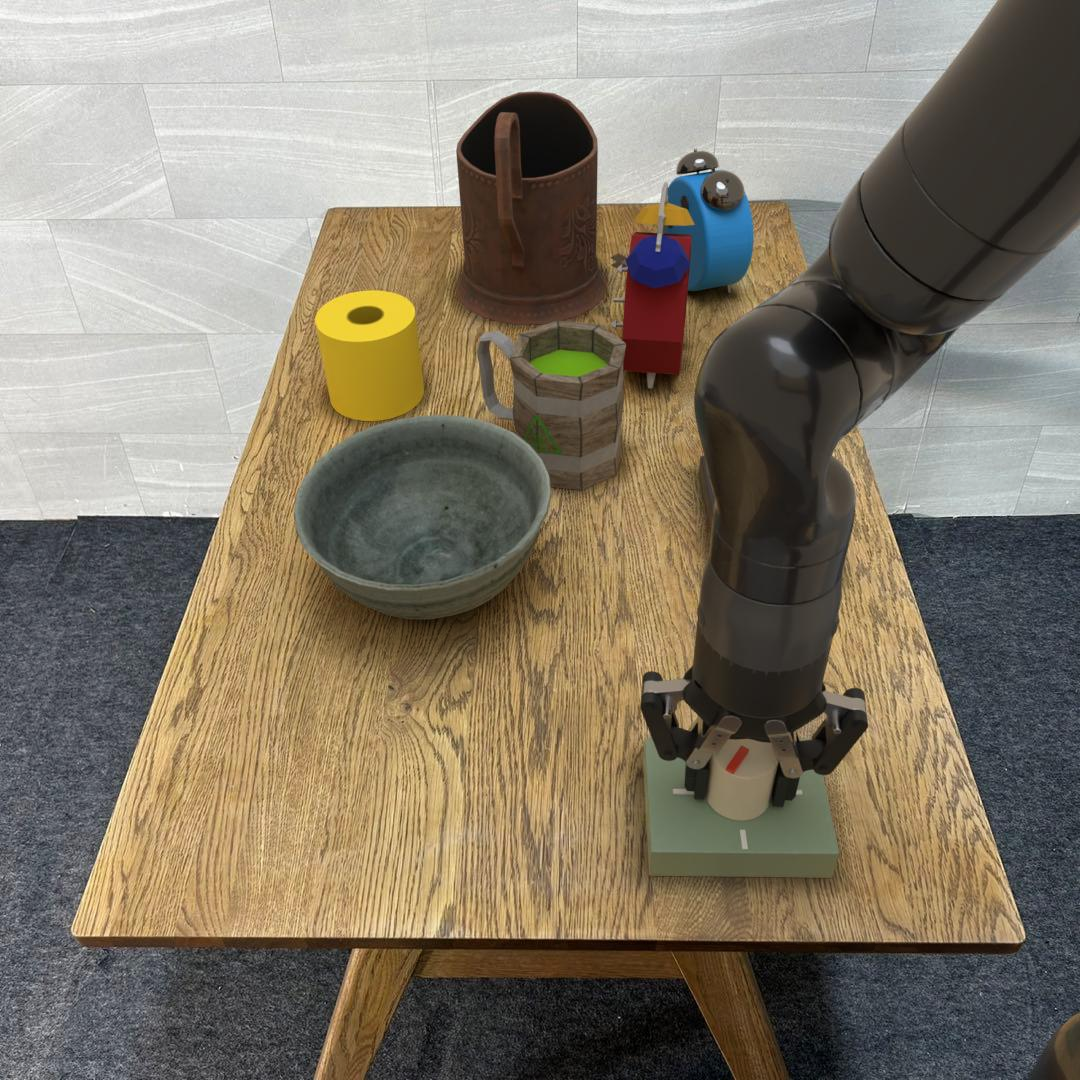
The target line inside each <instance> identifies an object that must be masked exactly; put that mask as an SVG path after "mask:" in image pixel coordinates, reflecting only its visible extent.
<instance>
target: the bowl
mask: <svg viewBox="0 0 1080 1080" xmlns="http://www.w3.org/2000/svg"><path fill="white" fill-rule="evenodd" d="M551 499H552V487H551V485H550V477H549V474H548V472H547V470H546V468H545V465H544V463H543V461H542V459H541V458H540V457H539V456H538V454H537V453H536V452H535V451H534V450H533V449H532V447H531V446H530V445H529V444H527V443H526V442H525V441H524V440H522V439H521V438H520V437H518V436H517V435H516V433H515V432H513V431H510V430H508V429H506V428H504V427H502V426H500V425H498V424H496V423H493V422H489V421H485V420H481V419H478V418H474V417H469V416H461V415H454V414H453V415H452V414H432V415H428V414H427V415H419V416H411V417H405V418H399V419H398V418H397V419H395V420H391V421H388V422H383V423H379V424H375V425H373V426H370V427H368V428H365V429H363V430H361V431H358V432H356V433H353V434H351V435H350V436H348V437H347V438H345V439H344V440H342V441H340V442H339V443H337V444H336V445H334V446H333V447H331V449H329V450H328V451H327V452H326V453H325V454H323V455H322V456H321V457H320V458H319V459H318V460H316V462H315V463H314V464H313V466H312V467H311V468H310V469H309V471H308V472H307V473H306V475H305V476H304V477H303V479H302V481H301V483H300V486H299V488H298V490H297V493H296V495H295V500H294V508H293V509H294V510H293V521H294V527H295V528H294V529H295V533H296V536H297V537H298V540H299V542H300V544H301V546H302V549H303V550H304V551H305V552H306V553H307V554H308V555H309V556H310V557H311V558H312V559H313V560H314V562H315V563H316V564H317V565H318V567H319V568H320V569H321V571H322V572H323V573H324V575H326V576H327V578H328V579H329V580H330V581H331V582H332V583H333V584H334V585H335V586H336V587H337V589H338V590H339V591H340V592H341V593H342V594H344V595H346V596H347V597H349V598H351V599H352V600H354V601H355V602H356V603H358V604H360V605H362V606H364V607H367V608H369V609H372V610H374V611H377V612H379V613H382V614H384V615H387V616H390V617H395V618H401V619H405V620H435V619H440V618H447V617H452V616H455V615H458V614H461V613H465V612H468V611H471V610H473V609H475V608H477V607H479V606H481V605H484V604H486V603H487V602H489V601H491V600H492V599H494V597H496V596H498V594H500V593H501V592H502V591H503V590H504V589H506V588H507V587H508V586H509V585H510V584H511V582H513V580H514V579H515V577H517V575H518V574H519V573H520V572H521V571H522V569H523V568H524V567H525V565H526V563H527V561H528V560H529V558H530V557H531V554H532V552H533V550H534V548H535V546H536V544H537V542H538V540H539V537H540V535H541V530H542V526H543V524H544V522H545V520H546V518H547V516H548V514H549V510H550V504H551Z"/></svg>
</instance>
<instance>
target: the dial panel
mask: <svg viewBox="0 0 1080 1080" xmlns="http://www.w3.org/2000/svg"><path fill="white" fill-rule="evenodd" d="M800 740H801V741H805V740H812V738H811V739H810V738H809V739H808V738H807V739H806V738H803V739H802V738H800ZM685 765H686V762H685V761H684V760H683V759H681V758H678V757H677V758H676V759H675V760H672V761H666V760H663V759H661V758H660V757H659V755H658V752H657V750H656V747H655V745H654V742H653V740H652V737H645V738H644V740H643V754H642V775H643V792H644V793H643V794H644V795H643V796H644V810H645V811H644V812H645V828H646V845H647V847H646V848H647V863H648V866H647V867H648V875H649V877H713V878H714V877H715V878H716V877H719V878H720V877H721V878H722V877H723V878H727V877H729V878H804V879H805V878H806V879H807V878H809V879H810V878H812V879H815V878H816V879H832V878H833V875H834V872H835V869H836V867H837V862H838V860H839V857H840V849H839V844H838V839H837V834H836V831H835V825H834V821H833V816H832V810H831V806H830V800H829V797H828V792H827V787H826V781H825V775H819V774H817V773H815V772H814V770H807V771H805V772H803V774H802V776H800V779H799V784H798V788H797V792H796V797H795V798H794V799H793V800H792V801H788V800H785V802H784V807H773V806H772V795H771V800H770V803H769V806H768V808H767V809H766V811H765V812H764V813H763V814H761V815H760V816H758V817H756V818H754V819H751V820H746V821H737V820H732V819H728V818H726V817H724V816H722V815H720V814H718V813H717V812H716V811H715V810H714V809H713V808H712V807H711V806H710V805H709V803H708V801H707V799H706V796H705V800H700V799H694V792H693V791H687V790H686V788H685V786H684V784H685Z"/></svg>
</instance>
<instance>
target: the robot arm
mask: <svg viewBox="0 0 1080 1080" xmlns="http://www.w3.org/2000/svg"><path fill="white" fill-rule="evenodd" d="M934 83H935V84H933V86H932V87H931V88H930V89H929V91H928V92H927V93H926V94H925V95H924V96H923V98H922V99H921V100H920V102H919V103H918V104H917V105H916V106H915V108H914V109H913V110H912V111H911V113H909V115H908V117H907V118H905V120H904V121H903V123H902V124H901V125H900V126H899V128H898V129H897V131H895V133H894V134H893V135H892V136H891V138H890V139H889V140H888V141H887V143H886V144H885V146H884V147H882V149H881V150H880V151H879V153H878V154H877V155H876V156H875V158H874V159H873V160H872V162H871V163H870V164H869V166H868V167H866V169H865V170H864V171H863V172H862V173H861V175H860V176H859V177H858V179H857V180H856V181H855V183H854V184H853V186H852V187H851V188H850V190H849V192H848V193H847V195H846V196H845V197H844V199H843V200H842V202H841V204H840V206H839V208H838V209H837V211H836V213H835V215H834V218H833V220H832V223H831V226H830V230H829V237H828V245H827V247H826V248H825V249H824V251H822V252H821V254H820V255H819V256H818V257H817V258H816V259H815V260H814V261H813V262H812V263H811V264H810V265H809V266H808V267H807V268H806V269H805V270H804V271H803V272H802V273H801V274H799V276H798V277H796V279H794V280H793V281H792V282H791V283H789V285H787V286H785V287H783V288H782V289H781V290H780V291H778V292H777V293H775V294H774V295H772V296H770V297H769V298H768V299H766V300H765V301H763V302H762V303H760V304H758V305H757V306H756V307H754V308H753V309H751V310H750V311H749V312H747V313H745V314H744V315H742V316H740V317H739V318H738V319H736V320H735V321H733V322H732V323H731V324H729V325H728V326H726V327H725V328H724V329H723V330H722V331H721V332H720V333H719V334H718V335H717V336H716V337H715V339H714V340H713V342H712V343H711V344H710V346H709V347H708V349H707V351H706V353H705V355H704V357H703V359H702V362H701V365H700V368H699V371H698V374H697V378H696V383H695V387H694V396H693V407H694V408H693V410H694V417H695V423H696V427H697V432H698V437H699V441H700V445H701V449H702V454H703V456H704V458H705V462H706V467H707V472H708V476H709V480H710V483H711V486H712V490H713V494H714V497H715V503H714V509H713V519H712V529H711V533H710V539H709V548H708V553H707V559H706V562H705V565H704V568H703V572H702V577H701V581H700V588H699V589H700V590H699V599H698V605H697V608H696V613H697V615H696V616H697V620H696V621H697V622H696V629H695V639H694V640H695V641H694V650H693V651H694V653H693V661H692V665H691V667H690V668H689V669H687V671H686V672H685V673H684V675H683V677H682V678H678V679H667V680H664V679H663V676H662V675H661V673H659V672H657V671H651V670H650V671H647V672H645V673H644V674H643V675H642V682H641V692H640V704H639V705H640V706H639V709H640V712H641V714H642V717H643V719H644V722H645V724H646V726H647V729H648V732H649V735H650V738H652V740H653V742H654V745H655V747H656V750H657V752H658V755H659V757H660V758H661V759H663V760H666V761H672V760H675V759H676V758H677V757H678V758H681V759H683V760H684V761H685V762H686V765H685V784H684V786H685V788H686V790H687V791H693V792H694V799H700V800H705V792H706V784H707V776H708V762H709V759H710V758H711V757H712V755H713V754H715V755H717V754H718V753H719V752H720V750H721V749H722V748H723V746H724V745H725V743H726V742H727V741H728V739H733V740H738V739H751V740H755V741H759V742H766V743H771V745H772V748H773V751H774V754H775V756H776V759H777V761H779V764H778V768H777V773H776V777H775V782H774V786H773V791H772V806H773V807H784V802H785V800H788V801H792V800H793V799H794V798H795V797H796V792H797V788H798V784H799V779H800V776H802V774H803V772H805V771H807V770H814V772H815V773H817V774H819V775H823V776H828V775H830V774H832V773H833V772H834V771H835V769H836V768H837V767H838V766H839V765H840V763H841V762H842V761H843V759H844V758H845V757H846V755H848V753H849V752H850V751H851V750H852V748H853V747H854V746H855V745H856V743H857V742H858V741H859V739H860V738H862V736H863V735H864V733H865V732H866V731H867V729H868V728H869V720H868V710H867V702H866V693H865V691H864V690H863V689H861V688H858V687H851V688H848V689H846V690H845V691H844V692H843V693H842V694H840V693H836V692H832V691H829V690H827V688H826V685H825V683H824V679H825V675H826V670H827V667H828V661H829V658H830V657H829V656H830V654H831V649H832V644H833V641H834V640H833V639H834V636H835V634H837V631H838V629H839V628H838V627H839V623H840V615H839V614H840V608H841V602H842V593H843V575H844V569H845V565H846V561H847V556H848V551H849V547H850V542H851V539H852V534H853V530H854V529H853V528H854V525H855V517H856V516H855V515H856V506H857V495H856V489H855V488H856V487H855V484H854V481H853V479H852V476H851V473H850V472H849V471H848V470H847V468H846V467H845V466H844V464H843V463H842V462H841V461H840V460H839V459H838V458H837V457H835V456H834V455H833V454H834V452H835V450H836V448H837V446H838V444H839V442H841V441H842V440H843V439H844V438H845V437H846V436H847V435H849V434H850V433H851V432H852V431H853V430H854V429H855V428H857V427H858V426H859V425H860V424H861V423H863V422H864V421H865V420H866V419H868V418H869V417H870V416H871V415H872V414H873V413H874V412H876V411H877V410H878V409H879V408H880V407H882V405H884V404H885V403H887V401H888V400H889V399H891V398H892V397H893V396H894V395H895V394H896V393H897V392H899V390H900V389H902V388H903V387H904V385H906V383H908V382H909V381H910V380H911V379H912V378H913V377H914V376H915V375H916V374H917V373H918V372H919V371H920V370H921V369H922V368H923V367H924V366H925V365H926V364H928V362H929V361H930V360H931V359H932V358H933V357H934V356H935V355H936V354H937V353H938V352H939V351H940V350H941V349H942V347H943V346H944V345H945V344H946V343H947V342H948V341H949V340H950V339H951V337H952V336H953V335H954V334H955V333H956V332H957V331H958V330H959V329H960V328H961V327H962V326H963V325H966V324H967V323H968V322H970V321H972V320H973V319H974V318H975V317H977V316H978V315H980V314H982V313H983V312H984V311H985V310H987V309H988V308H989V307H990V306H992V305H993V304H994V303H995V302H997V301H998V300H999V299H1000V298H1001V297H1002V296H1004V295H1005V294H1006V293H1007V292H1008V291H1009V290H1010V289H1011V288H1013V287H1014V286H1015V285H1016V284H1017V283H1018V282H1019V281H1020V280H1021V279H1023V278H1024V277H1025V276H1026V275H1027V274H1028V273H1030V271H1032V270H1033V269H1034V268H1035V267H1036V266H1037V265H1038V264H1039V263H1040V262H1042V260H1044V259H1045V258H1047V256H1048V255H1050V253H1052V252H1053V250H1055V249H1056V248H1057V247H1058V246H1059V245H1060V244H1061V243H1063V242H1064V241H1065V240H1066V239H1067V238H1068V237H1069V236H1071V234H1072V233H1074V232H1075V231H1076V230H1077V229H1078V228H1080V0H996V2H995V3H994V5H992V7H991V9H990V10H989V12H988V13H987V14H986V16H985V17H984V18H983V20H982V21H981V23H980V24H979V26H978V27H977V28H976V30H975V31H974V33H973V34H972V36H971V37H970V38H969V39H968V40H967V42H966V43H965V44H964V46H963V47H962V48H961V50H960V51H959V52H958V54H956V56H955V58H954V59H953V60H952V61H951V63H950V64H949V65H948V67H947V68H946V69H945V71H944V72H943V73H942V74H941V76H940V77H939V78H938V80H937V81H936V82H934ZM682 701H684V703H685V704H686V705H687V706H688V708H690V709H691V710H692V711H693V712H694V713H695V714H696V715H697V716H696V718H695V720H694V721H693V722H692V724H691V725H690V727H689V729H685V728H682V727H680V723H679V720H678V718H677V715H676V711H677V710H678V704H679V703H680V702H682ZM822 714H825V718H824V719H823V720H822V722H821V723H820V725H819V726H818V727H817V729H816V730H815V732H814V733H813V734H812V736H811V739H812V740H805V741H801V740H800V739H801V736H800V733H799V730H800V729H801V728H803V727H804V726H806V725H808V724H809V723H810V722H812V721H814V720H815V719H817V718H819V717H820V716H821V715H822ZM1026 1080H1080V1011H1079V1012H1077V1013H1076V1014H1073V1015H1071V1016H1070V1017H1069V1018H1068V1019H1067V1020H1065V1021H1064V1022H1063V1023H1062V1024H1061V1025H1060V1026H1059V1027H1058V1028H1057V1030H1056V1031H1055V1032H1054V1033H1053V1035H1052V1036H1051V1037H1050V1039H1049V1040H1048V1042H1047V1043H1046V1045H1045V1047H1044V1048H1043V1050H1042V1052H1041V1054H1040V1055H1039V1057H1038V1059H1037V1061H1036V1063H1035V1065H1034V1066H1033V1068H1032V1070H1031V1072H1030V1074H1029V1075H1028V1078H1027V1079H1026Z"/></svg>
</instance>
